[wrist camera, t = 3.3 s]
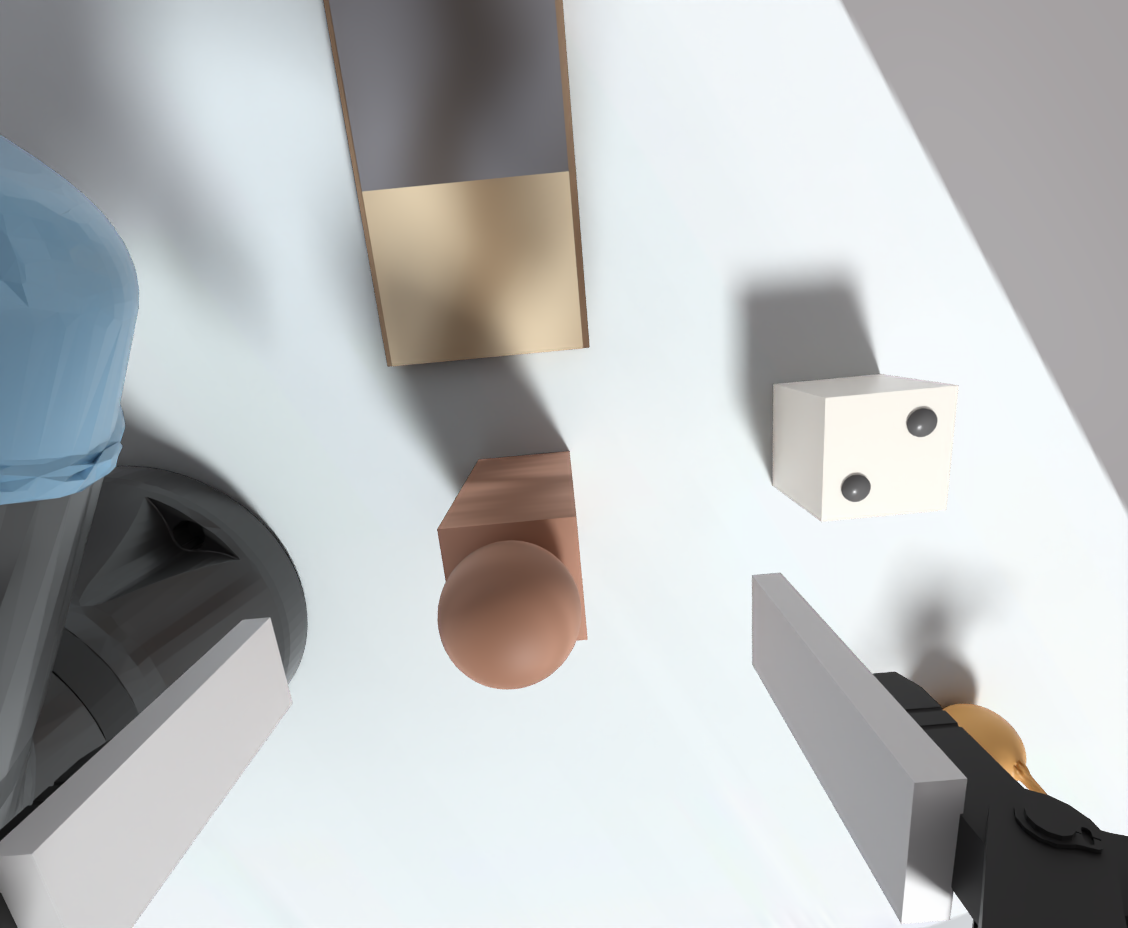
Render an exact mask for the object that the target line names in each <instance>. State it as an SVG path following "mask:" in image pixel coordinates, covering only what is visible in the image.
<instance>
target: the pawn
mask: <svg viewBox="0 0 1128 928" xmlns="http://www.w3.org/2000/svg"><path fill="white" fill-rule="evenodd" d="M437 531H438V537H439V543H440V549H441V555H442V561H443V567H444V573H445V580H446V583H445V585H444V587H443V590H442V593H441V596H440V600H439V605H438V629H439V633H440V637H441V641H442V644H443V646H444V649H445V651H446V652H447V654H448V656H449V658H450V659H451V661H452V662H453V663H454V664H455V666H456V667H457V668H458V669H459V670H460V671H461V672H463V673H464V674H465V675H466V676H468V677H469V678H470V679H472V680H474V681H475V682H478V683H480V684H482V685H485V686H488V687H492V688H497V689H518V688H523V687H527V686H530V685H533V684H535V683H538V682H540V681H542V680H543V679H545V678H547V677H548V676H550V675H551V674H552V673H553V672H555V671H556V670H557V669H558V668H559V667H560V666H561V665H562V664H563V662H564V661H565V660H566V659H567V657H568V656H569V654H570V652H571V651H572V649H573V647H574V645H575V643H576V640H587V628H586V617H585V606H584V595H583V585H582V574H581V563H580V552H579V541H578V530H577V519H576V509H575V499H574V490H573V480H572V470H571V461H570V451H565V452H554V453H543V454H532V455H522V456H511V457H500V458H489V459H479V460H478V461H477V463H476V465H475V466H474V468H473V470H472V471H471V473H470V475H469V477H468V478H467V480H466V482H465V483H464V485H463V487H462V488H461V490H460V492H459V493H458V495H457V497H456V498H455V500H454V502H453V504H452V505H451V507H450V509H449V510H448V512H447V514H446V515H445V517H444V519H443V520H442V522H441V524H440V526H439V527H438V529H437Z"/></svg>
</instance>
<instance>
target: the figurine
mask: <svg viewBox="0 0 1128 928" xmlns="http://www.w3.org/2000/svg"><path fill="white" fill-rule="evenodd" d="M942 710H945V711H946V712H947V713H948V714H949V715H950V716H951V717H952V718H953V719H954V720H955V721H956V722H957V723H958V726H959V727H962V728H964V729H965V730H966V731H967V732H968V733H969V734H970V735H971V736H972V737H973V738H974V739H975V740H976V741H977V742H978V743H979V744H980V745H981V746H982V747H983V748H984V749H985V750H986V751H987V752H988V753H989V754H990V755H991V756H992V757H993V758H994V759H995V760H996V761H997V762H998V763H999V764H1000V765H1001V766H1002V767H1003V768H1004V769H1005V770H1006V771H1007V772H1008V773H1009V774H1010V775H1011V776H1012V777H1013V778H1014V779H1015V780H1016V781H1018V780H1019V781H1021V782H1022V783H1023V784H1024V785H1025V786H1026V787H1027V788H1028V789H1029V790H1031V791H1035V792H1039V793H1043V794H1046V792H1045V791H1044V790H1043V789H1042V788H1041V787H1040V785H1039V784H1038V783H1037V782H1036V781H1035V780H1034V779H1033V777H1032V776H1031V774H1030V773H1029V770H1028V768H1027V767H1026V752H1025V748H1024V745H1023V743H1022V740H1021V738H1020V737H1019V735H1018V734H1017V732H1016V731H1015V729H1014V728H1013V727H1012V726H1011V725H1010V724H1009V723H1008V722H1007V721H1006V720H1005V719H1003V718H1002V717H1001V716H999V715H998V714H996V713H995V712H993V711H991V710H989V709H987V708H984V707H981V706H978V705H974V704H954V705H950V706H948V707H945V708H944V709H942Z"/></svg>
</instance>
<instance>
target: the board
mask: <svg viewBox="0 0 1128 928" xmlns="http://www.w3.org/2000/svg"><path fill="white" fill-rule="evenodd" d="M323 1H324V7H325V13H326V18H327V24H328V30H329V35H330V41H331V47H332V52H333V58H334V64H335V70H336V75H337V81H338V87H339V92H340V98H341V104H342V109H343V115H344V121H345V127H346V132H347V138H348V144H349V149H350V155H351V161H352V166H353V172H354V178H355V184H356V189H357V195H358V201H359V206H360V212H361V218H362V223H363V229H364V235H365V241H366V246H367V252H368V258H369V263H370V269H371V275H372V280H373V286H374V292H375V298H376V303H377V309H378V315H379V320H380V326H381V332H382V337H383V343H384V349H385V355H386V360H387V366H402V365H413V364H423V363H434V362H444V361H455V360H465V359H476V358H486V357H497V356H507V355H518V354H528V353H539V352H550V351H560V350H571V349H581V348H589V334H588V321H587V309H586V296H585V283H584V270H583V257H582V244H581V232H580V219H579V206H578V193H577V180H576V167H575V155H574V142H573V129H572V116H571V103H570V90H569V78H568V65H567V52H566V39H565V26H564V14H563V1H562V0H323Z"/></svg>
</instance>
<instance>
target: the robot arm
mask: <svg viewBox="0 0 1128 928" xmlns="http://www.w3.org/2000/svg"><path fill="white" fill-rule="evenodd" d="M138 309H139V286H138V280H137V274H136V270H135V267H134V264H133V261H132V259H131V257H130V254H129V252H128V250H127V248H126V246H125V244H124V242H123V240H122V239H121V237H120V236H119V234H118V233H117V231H116V230H115V228H114V227H113V226H112V224H111V223H110V222H109V220H108V219H107V218H106V217H105V216H104V214H103V213H102V212H101V211H100V210H99V209H98V208H97V207H96V206H95V205H94V204H93V203H92V202H91V201H90V200H89V199H88V198H87V197H86V196H85V195H84V194H83V193H82V192H80V191H79V190H78V189H77V188H76V187H74V186H73V185H72V184H71V183H70V182H68V181H67V180H66V179H65V178H63V177H62V176H61V175H59V174H58V173H56V172H55V171H54V170H52V169H51V168H50V167H48V166H47V165H45V164H44V163H43V162H41V161H40V160H38V159H37V158H35V157H34V156H33V155H31V154H29V153H28V152H26V151H25V150H23V149H22V148H20V147H19V146H17V145H16V144H14V143H13V142H11V141H10V140H8V139H6V138H5V137H3V136H1V135H0V928H132V927H133V926H134V924H135V923H136V921H137V920H138V919H139V917H140V916H141V915H142V913H143V912H144V910H145V909H146V908H147V906H148V905H149V903H150V902H151V901H152V899H153V898H154V896H155V895H156V894H157V892H158V891H159V889H160V888H161V887H162V885H163V884H164V882H165V881H166V880H167V878H168V877H169V875H170V874H171V873H172V871H173V870H174V868H175V867H176V866H177V864H178V863H179V861H180V860H181V859H182V857H183V856H184V854H185V853H186V852H187V850H188V849H189V847H190V846H191V845H192V843H193V842H194V840H195V839H196V838H197V836H198V835H199V833H200V832H201V831H202V829H203V828H204V826H205V825H206V824H207V822H208V821H209V819H210V818H211V817H212V815H213V814H214V812H215V811H216V810H217V808H218V807H219V805H220V804H221V803H222V801H223V800H224V799H225V797H226V796H227V794H228V793H229V792H230V790H231V789H232V787H233V786H234V785H235V783H236V782H237V780H238V779H239V778H240V776H241V775H242V773H243V772H244V771H245V769H246V768H247V766H248V765H249V764H250V762H251V761H252V759H253V758H254V757H255V755H256V754H257V752H258V751H259V750H260V748H261V747H262V745H263V744H264V743H265V741H266V740H267V738H268V737H269V736H270V734H271V733H272V731H273V730H274V729H275V727H276V726H277V724H278V723H279V722H280V720H281V719H282V717H283V716H284V715H285V713H286V712H287V710H288V709H289V708H290V706H291V705H292V703H293V702H292V699H291V695H290V691H289V687H288V684H289V683H290V681H291V680H292V678H293V676H294V674H295V673H296V671H297V669H298V666H299V664H300V662H301V659H302V656H303V653H304V649H305V644H306V637H307V611H306V604H305V599H304V594H303V591H302V587H301V584H300V581H299V579H298V576H297V574H296V572H295V569H294V567H293V565H292V563H291V562H290V560H289V558H288V556H287V555H286V553H285V551H284V550H283V548H282V547H281V545H280V544H279V543H278V541H277V540H276V539H275V537H274V536H273V535H272V534H271V533H270V532H269V530H268V529H267V528H266V527H265V526H264V525H263V524H262V523H261V522H260V521H259V520H258V519H257V518H256V517H255V516H253V515H252V514H251V513H250V512H249V511H248V510H246V509H245V508H244V507H243V506H241V505H240V504H239V503H237V502H236V501H234V500H233V499H231V498H230V497H228V496H227V495H225V494H223V493H222V492H220V491H218V490H216V489H214V488H212V487H210V486H208V485H206V484H204V483H202V482H199V481H197V480H195V479H192V478H189V477H186V476H184V475H180V474H177V473H173V472H169V471H165V470H160V469H154V468H148V467H136V466H120V467H116V464H117V459H118V455H119V453H120V451H121V449H122V447H123V446H122V444H121V443H120V442H121V439H122V436H123V433H124V429H125V421H124V415H123V411H122V408H121V405H120V401H121V396H122V391H123V386H124V381H125V376H126V370H127V365H128V360H129V355H130V350H131V345H132V340H133V334H134V329H135V324H136V319H137V314H138ZM752 665H753V666H754V668H755V670H756V672H757V673H758V675H759V677H760V679H761V680H762V682H763V684H764V686H765V687H766V689H767V691H768V693H769V694H770V696H771V698H772V700H773V701H774V703H775V705H776V706H777V708H778V710H779V712H780V713H781V715H782V717H783V719H784V720H785V722H786V724H787V726H788V727H789V729H790V731H791V733H792V734H793V736H794V738H795V740H796V741H797V743H798V745H799V747H800V748H801V750H802V752H803V753H804V755H805V757H806V759H807V760H808V762H809V764H810V766H811V767H812V769H813V771H814V773H815V774H816V776H817V778H818V780H819V781H820V783H821V785H822V787H823V788H824V790H825V792H826V794H827V795H828V797H829V799H830V801H831V802H832V804H833V806H834V807H835V809H836V811H837V813H838V814H839V816H840V818H841V820H842V821H843V823H844V825H845V827H846V828H847V830H848V832H849V834H850V835H851V837H852V839H853V841H854V842H855V844H856V846H857V848H858V849H859V851H860V853H861V854H862V856H863V858H864V860H865V861H866V863H867V865H868V867H869V868H870V870H871V872H872V874H873V875H874V877H875V879H876V881H877V882H878V884H879V886H880V888H881V889H882V891H883V893H884V895H885V896H886V898H887V900H888V901H889V903H890V905H891V907H892V908H893V910H894V912H895V914H896V915H897V917H898V919H899V921H900V922H901V924H905V923H918V922H931V921H944V920H950V915H951V907H952V899H953V891H954V892H955V894H956V895H957V897H958V898H959V899H960V901H961V902H962V904H963V905H964V907H965V908H966V909H967V911H968V912H969V914H970V915H971V916H972V918H973V925H972V928H1128V836H1124V835H1118V834H1113V833H1109V832H1105V831H1101V830H1100V829H1099V828H1098V827H1097V826H1096V825H1095V824H1094V823H1093V822H1092V821H1091V820H1090V819H1089V818H1087V817H1086V816H1084V815H1083V814H1082V813H1080V812H1079V811H1077V810H1076V809H1074V808H1073V807H1071V806H1070V805H1068V804H1066V803H1064V802H1062V801H1059V800H1057V799H1055V798H1053V797H1051V796H1049V795H1047V794H1043V793H1039V792H1035V791H1031V790H1028V789H1024V788H1023V787H1022V786H1021V785H1020V784H1019V783H1018V782H1017V781H1016V780H1015V779H1014V778H1013V777H1012V776H1011V775H1010V774H1009V773H1008V772H1007V771H1006V770H1005V769H1004V768H1003V767H1002V766H1001V765H1000V764H999V763H998V762H997V761H996V760H995V759H994V758H993V757H992V756H991V755H990V754H989V753H988V752H987V751H986V750H985V749H984V748H983V747H982V746H981V745H980V744H979V743H978V742H977V741H976V740H975V739H974V738H973V737H972V736H971V735H970V734H969V733H968V732H967V731H966V730H965V729H964V728H962V727H959V726H958V723H957V722H956V721H955V720H954V719H953V718H952V717H951V716H950V715H949V714H948V713H947V712H946V711H945V710H942V708H941V706H940V705H939V704H938V703H937V702H936V701H935V700H934V699H933V698H932V697H931V696H930V695H929V694H928V693H927V692H926V691H925V690H924V689H923V688H922V687H920V686H919V685H917V684H915V683H914V682H912V681H910V680H909V679H907V678H905V677H903V676H902V675H900V674H898V673H897V672H887V673H875V674H872V673H871V672H870V671H869V670H868V669H867V667H866V666H865V665H864V664H863V663H862V662H861V661H860V660H859V659H858V658H857V656H856V655H855V654H854V653H853V652H852V651H851V650H850V649H849V648H848V646H847V645H846V644H845V643H844V642H843V641H842V640H841V639H840V638H839V637H838V635H837V634H836V633H835V632H834V631H833V630H832V629H831V628H830V627H829V626H828V624H827V623H826V622H825V621H824V620H823V619H822V618H821V617H820V616H819V615H818V613H817V612H816V611H815V610H814V609H813V608H812V607H811V606H810V605H809V603H808V602H807V601H806V600H805V599H804V598H803V597H802V596H801V595H800V594H799V592H798V591H797V590H796V589H795V588H794V587H793V586H792V585H791V584H790V583H789V581H788V580H787V579H786V578H785V577H784V576H783V575H782V574H781V573H771V574H760V575H752Z"/></svg>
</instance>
